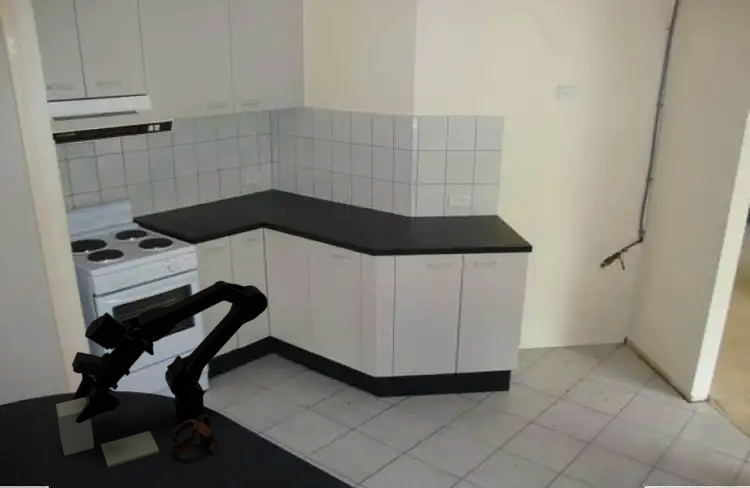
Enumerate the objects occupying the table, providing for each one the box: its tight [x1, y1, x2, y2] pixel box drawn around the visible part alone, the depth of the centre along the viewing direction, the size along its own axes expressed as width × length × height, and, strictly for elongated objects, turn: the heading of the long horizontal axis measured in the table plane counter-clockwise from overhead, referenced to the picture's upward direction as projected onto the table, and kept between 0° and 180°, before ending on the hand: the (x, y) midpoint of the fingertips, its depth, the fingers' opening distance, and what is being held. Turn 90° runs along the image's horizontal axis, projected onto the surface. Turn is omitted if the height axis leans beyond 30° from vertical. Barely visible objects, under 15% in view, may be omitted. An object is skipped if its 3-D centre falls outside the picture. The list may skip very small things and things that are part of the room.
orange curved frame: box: [169, 413, 219, 455], centre depth 146 cm, size 12×10×8 cm
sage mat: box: [100, 430, 160, 468], centre depth 145 cm, size 11×9×1 cm
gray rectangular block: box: [55, 397, 95, 457], centre depth 145 cm, size 6×6×10 cm
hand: (74, 412), depth 145 cm, fingers open, 9 cm apart
